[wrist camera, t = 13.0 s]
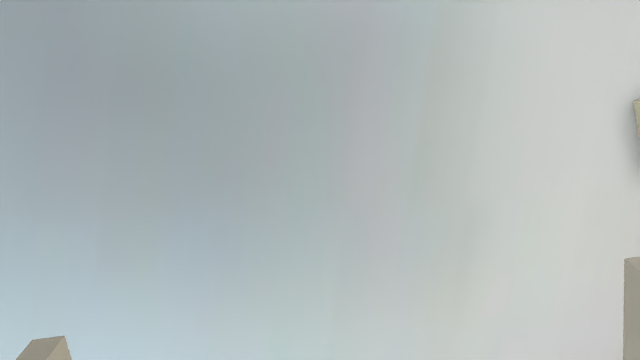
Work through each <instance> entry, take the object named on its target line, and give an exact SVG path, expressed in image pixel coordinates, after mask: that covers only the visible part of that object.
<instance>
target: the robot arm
mask: <svg viewBox="0 0 640 360" xmlns="http://www.w3.org/2000/svg"><path fill="white" fill-rule="evenodd" d="M16 360H72V359H71V356H70V352H69V349H68V346H67V342H66V339H65V336H58V337H51V338H44V339H36V340H32V341H31V342H30V343H29V345H28V346H27V347H26V348H25V349H24V350H23V352H22V353H21V354H20V355H19V356H18V358H17V359H16ZM623 360H640V257H633V258H626V259H624V329H623Z"/></svg>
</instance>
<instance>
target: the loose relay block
mask: <svg viewBox="0 0 640 360" xmlns="http://www.w3.org/2000/svg"><path fill="white" fill-rule="evenodd" d="M633 104H634V110H635V117H636V123H637V129H638V135H639V141H640V99H637V100H634V101H633Z"/></svg>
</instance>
